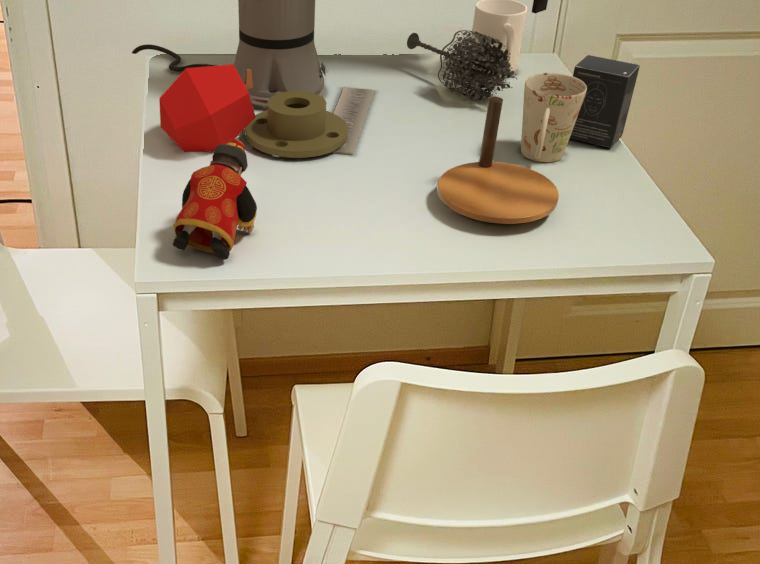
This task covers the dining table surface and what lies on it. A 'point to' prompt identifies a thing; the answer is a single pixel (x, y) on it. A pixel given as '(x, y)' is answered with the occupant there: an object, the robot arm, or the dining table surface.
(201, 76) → the red faceted polyhedron
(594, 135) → the box
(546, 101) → the mug
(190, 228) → the figurine
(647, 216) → the dining table surface
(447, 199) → the wooden disc with post
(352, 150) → the nameplate
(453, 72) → the massage brush
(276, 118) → the flange
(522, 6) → the cup
